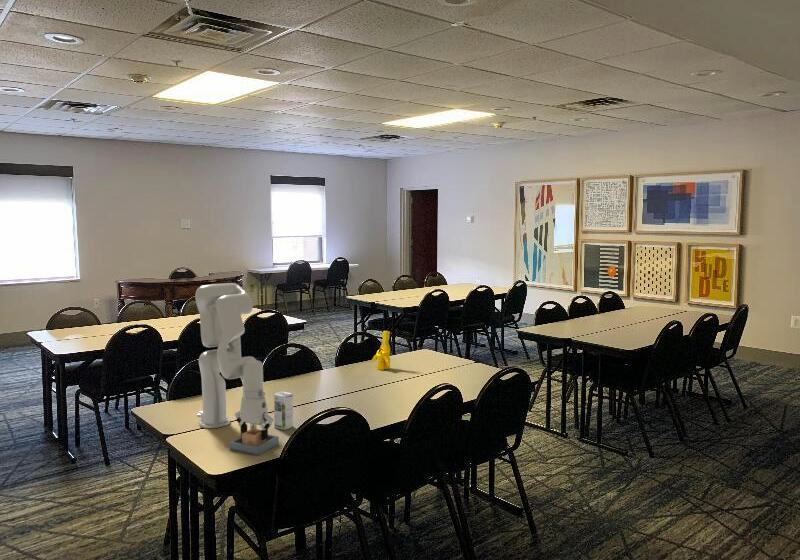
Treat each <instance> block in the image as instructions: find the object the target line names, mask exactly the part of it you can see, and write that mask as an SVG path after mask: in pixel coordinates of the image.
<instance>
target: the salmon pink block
mask: <svg viewBox="0 0 800 560" xmlns="http://www.w3.org/2000/svg"><path fill="white" fill-rule="evenodd" d="M261 430H262V429H258V428H257V429H251V430H250V429H249V430H247V431H246V432H244V433H242V444H246V445H251V446H256V447H257V446H259V445H261V444H262V443H264V442H266V439H265V440H261Z"/></svg>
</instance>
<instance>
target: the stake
mask: <svg viewBox="0 0 800 560" xmlns="http://www.w3.org/2000/svg"><path fill="white" fill-rule="evenodd" d="M249 425H250V429H249V430H251V429H258V426H257V424H251V423H249Z"/></svg>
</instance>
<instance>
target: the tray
mask: <svg viewBox="0 0 800 560" xmlns="http://www.w3.org/2000/svg"><path fill="white" fill-rule="evenodd" d="M279 441H280V439H279V436H278V435H273V434H268V438H267V439H266V442H264V443H262V444H261V445H259V446H257V447H256V446H251V445H246V444H242V436H241V435H240V436H239V437H237V438H235V439H233V440H232V441H229V442H228V443H229V444H228V446H229V447H228V448H229V451H232V452H236V453H237V452H238V453H242V454H247V455H252V456H256V457H257V456H260V455H261V454H263V453H265V452H267V451H268V450H270V449H272V448H274V447H276V446H278V445H279V444H280V442H279Z"/></svg>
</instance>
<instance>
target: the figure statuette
mask: <svg viewBox="0 0 800 560" xmlns="http://www.w3.org/2000/svg"><path fill="white" fill-rule="evenodd" d="M381 338H382V343H381V345H380V347H379V349H378V350H377V351H376V354H375V355H373V357H372V359H371V361H370V362H372V363H374V362H375V361H376V360H377V361H376V369H377V370H379V371H381V370H382V371H383V370H389V369H390V368H391V357H390V353H391V347H390V344H389V343H390V342H389V341H390V331H388V330H383V331H382V337H381Z"/></svg>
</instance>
